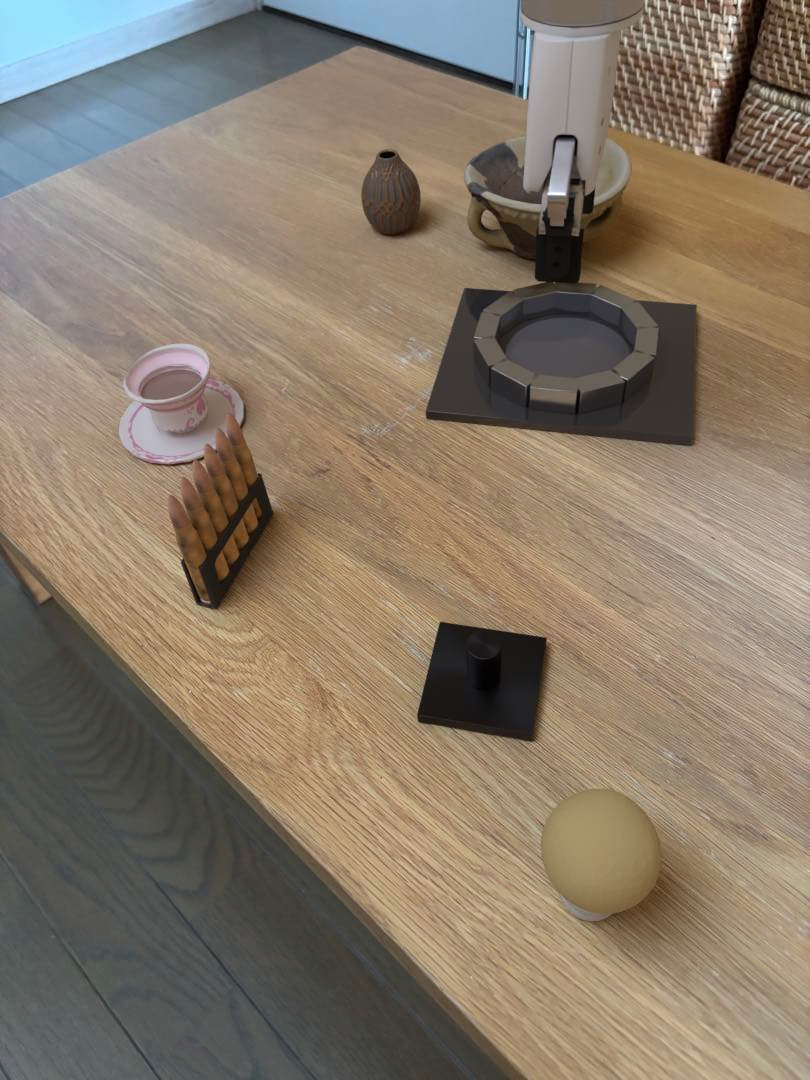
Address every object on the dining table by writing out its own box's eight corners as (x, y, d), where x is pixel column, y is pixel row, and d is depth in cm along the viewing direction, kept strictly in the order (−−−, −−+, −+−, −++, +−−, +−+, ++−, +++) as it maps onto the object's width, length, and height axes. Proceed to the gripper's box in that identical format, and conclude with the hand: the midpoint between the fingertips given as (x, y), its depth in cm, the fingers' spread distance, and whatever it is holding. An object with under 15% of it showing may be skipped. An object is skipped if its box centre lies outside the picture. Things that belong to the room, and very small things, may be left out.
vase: (422, 240, 101) (417, 167, 94) (363, 243, 101) (355, 170, 95) (422, 209, 105) (418, 137, 99) (366, 212, 106) (358, 141, 99)
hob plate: (694, 312, 89) (696, 303, 88) (691, 446, 76) (693, 437, 75) (464, 295, 93) (464, 286, 92) (426, 418, 81) (425, 410, 80)
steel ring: (460, 401, 80) (459, 380, 79) (492, 296, 91) (493, 275, 89) (647, 422, 77) (651, 400, 75) (658, 311, 87) (662, 288, 85)
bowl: (616, 203, 103) (626, 122, 96) (625, 289, 92) (638, 205, 85) (469, 204, 105) (468, 125, 98) (460, 289, 94) (458, 207, 87)
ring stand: (546, 644, 64) (550, 605, 60) (531, 741, 59) (535, 705, 55) (440, 628, 65) (437, 589, 62) (417, 722, 60) (413, 685, 57)
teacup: (207, 478, 78) (189, 426, 73) (95, 452, 81) (72, 401, 76) (266, 393, 85) (253, 342, 80) (161, 373, 88) (143, 322, 83)
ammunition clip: (255, 508, 75) (223, 402, 66) (274, 513, 74) (245, 407, 65) (195, 604, 68) (151, 502, 59) (216, 610, 68) (174, 507, 59)
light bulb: (569, 968, 50) (585, 913, 42) (516, 866, 54) (522, 799, 46) (663, 919, 51) (695, 857, 43) (605, 824, 55) (625, 752, 47)
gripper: (540, -56, 59) (531, 186, 72) (497, 42, 48) (497, 307, 61) (653, -58, 57) (624, 190, 70) (636, 43, 46) (605, 314, 59)
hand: (565, 244), depth 65 cm, fingers open, 9 cm apart
